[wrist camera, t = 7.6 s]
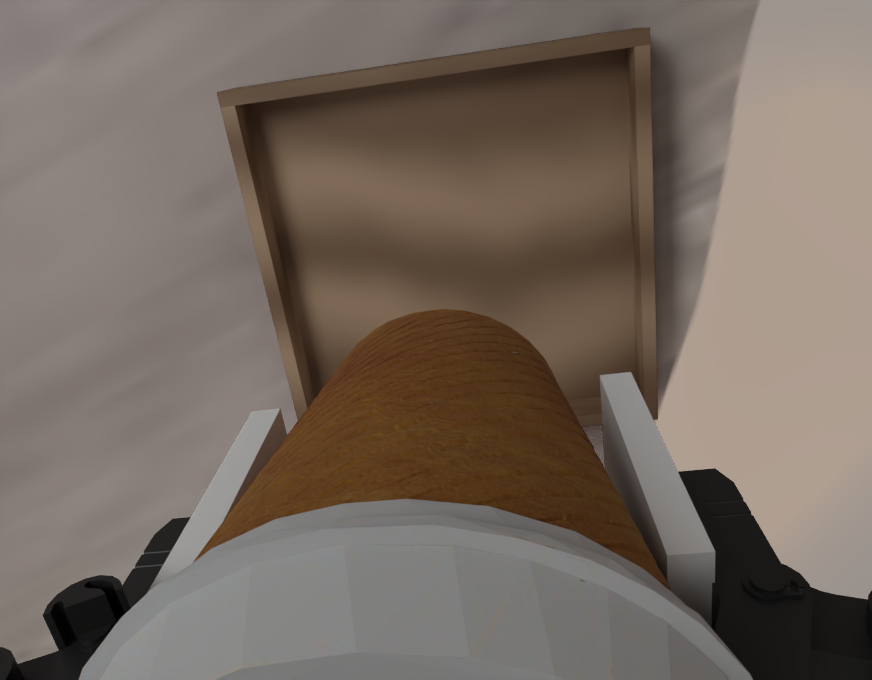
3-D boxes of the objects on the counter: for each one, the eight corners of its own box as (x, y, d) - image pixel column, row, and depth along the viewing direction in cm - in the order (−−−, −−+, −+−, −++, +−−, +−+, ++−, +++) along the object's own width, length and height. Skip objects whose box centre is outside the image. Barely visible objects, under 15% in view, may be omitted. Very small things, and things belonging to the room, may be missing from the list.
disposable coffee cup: (281, 219, 17) (-47, 544, 6) (664, 277, 18) (990, 694, 7) (264, 530, 21) (40, 1068, 10) (578, 576, 21) (693, 1156, 10)
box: (235, 88, 31) (216, 92, 29) (635, 27, 29) (649, 27, 27) (316, 428, 38) (306, 453, 35) (645, 394, 36) (657, 419, 34)
